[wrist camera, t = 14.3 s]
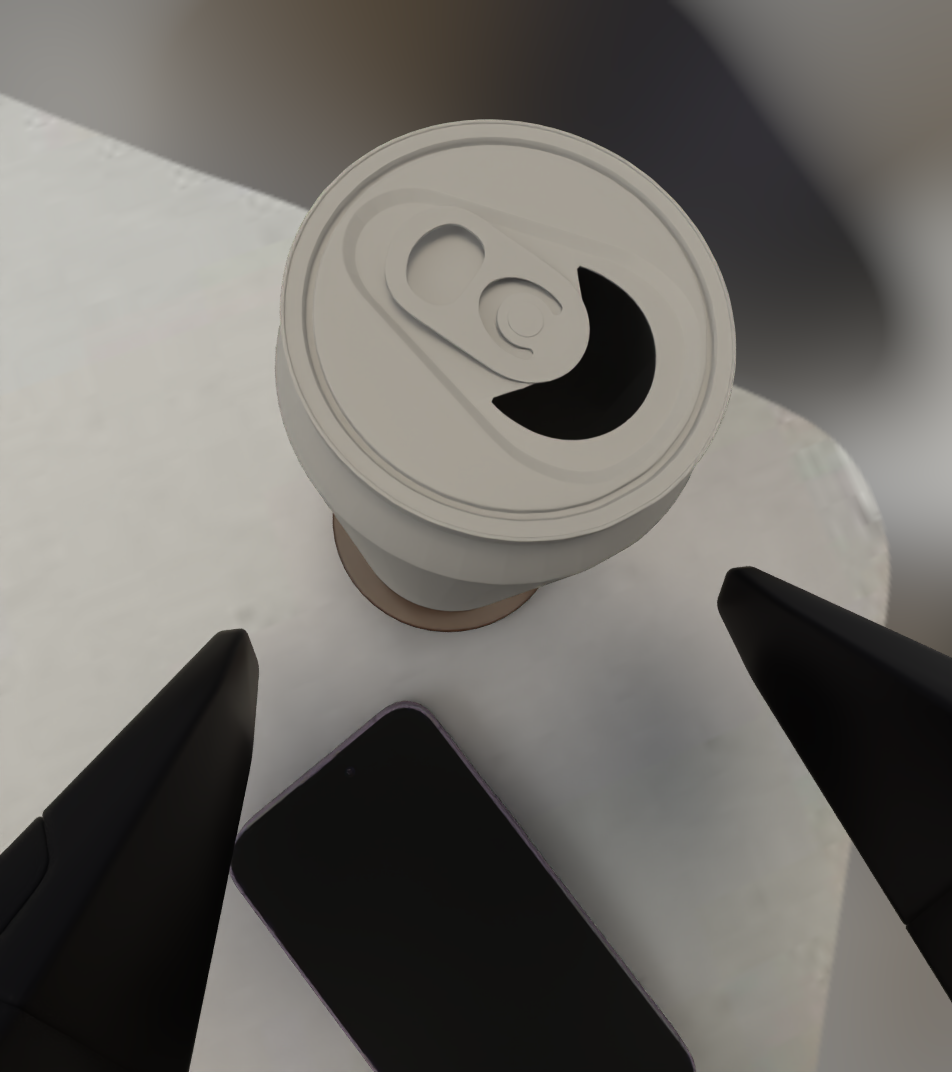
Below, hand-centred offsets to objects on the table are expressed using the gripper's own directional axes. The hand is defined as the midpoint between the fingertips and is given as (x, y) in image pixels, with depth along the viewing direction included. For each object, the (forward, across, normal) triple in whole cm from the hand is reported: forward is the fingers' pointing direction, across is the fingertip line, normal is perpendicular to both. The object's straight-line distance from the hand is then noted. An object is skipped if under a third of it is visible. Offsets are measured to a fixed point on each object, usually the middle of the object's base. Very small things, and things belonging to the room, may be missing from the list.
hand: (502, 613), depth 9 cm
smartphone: (-1, +1, +14) cm, 14 cm away
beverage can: (+8, 0, +3) cm, 9 cm away
